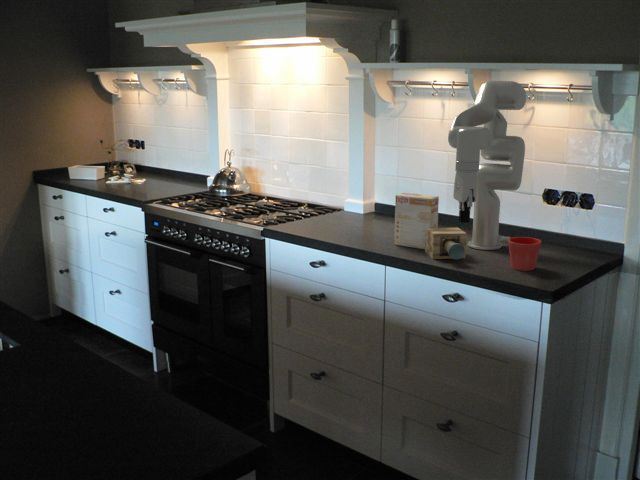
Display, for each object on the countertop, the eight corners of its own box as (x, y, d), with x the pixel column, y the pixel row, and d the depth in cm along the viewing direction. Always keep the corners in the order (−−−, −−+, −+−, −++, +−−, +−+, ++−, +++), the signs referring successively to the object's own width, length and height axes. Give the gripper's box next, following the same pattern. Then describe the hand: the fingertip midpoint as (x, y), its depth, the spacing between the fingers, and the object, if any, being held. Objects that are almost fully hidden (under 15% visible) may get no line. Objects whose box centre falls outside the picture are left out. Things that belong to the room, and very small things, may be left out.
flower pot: (501, 269, 239) (503, 241, 237) (512, 262, 248) (514, 235, 246) (533, 274, 234) (535, 245, 231) (543, 266, 242) (545, 239, 240)
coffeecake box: (437, 246, 270) (439, 196, 265) (429, 250, 264) (431, 198, 260) (402, 241, 278) (403, 192, 274) (393, 244, 272) (395, 194, 268)
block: (465, 258, 253) (466, 233, 251) (432, 258, 252) (433, 234, 250) (456, 251, 263) (457, 227, 261) (425, 252, 261) (426, 228, 259)
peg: (464, 259, 245) (465, 243, 244) (448, 259, 244) (449, 243, 243) (454, 251, 255) (455, 236, 254) (439, 252, 255) (439, 236, 253)
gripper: (449, 164, 238) (446, 218, 242) (463, 169, 223) (460, 226, 227) (470, 164, 239) (467, 217, 243) (486, 169, 224) (483, 226, 228)
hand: (464, 222), depth 235 cm, fingers closed
